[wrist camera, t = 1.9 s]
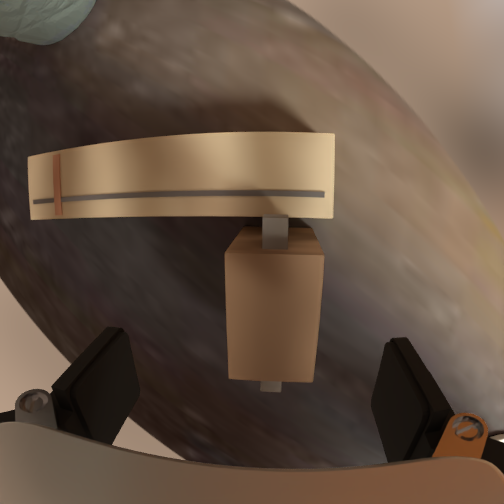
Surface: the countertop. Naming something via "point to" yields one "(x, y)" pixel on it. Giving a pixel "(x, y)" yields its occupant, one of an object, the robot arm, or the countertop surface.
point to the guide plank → (188, 177)
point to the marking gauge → (273, 303)
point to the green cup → (42, 19)
